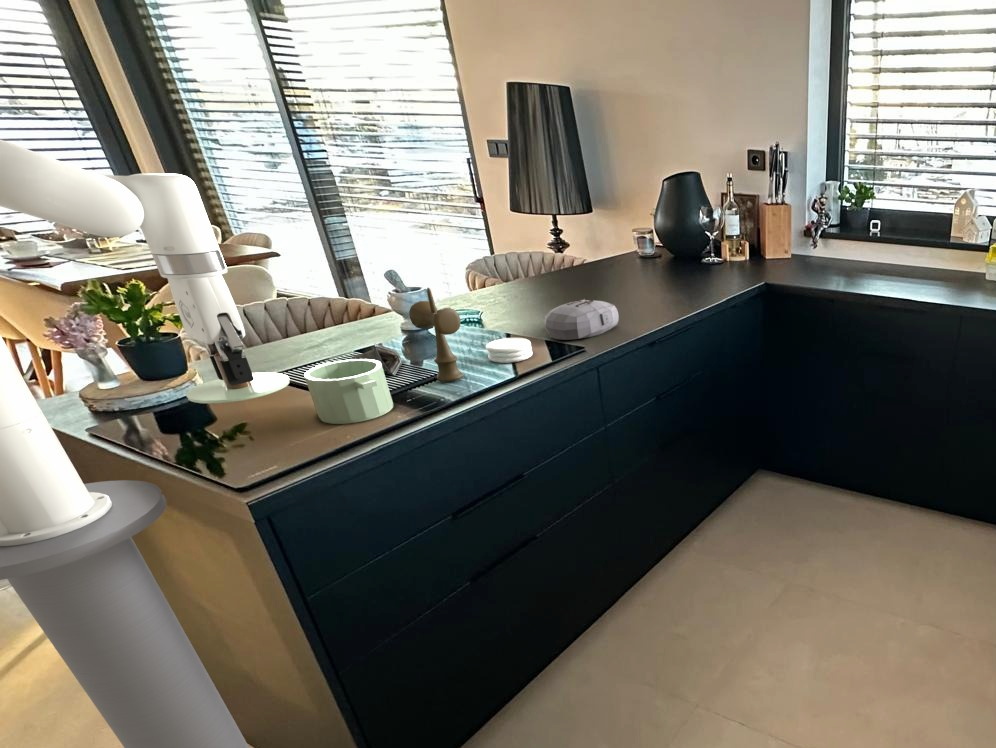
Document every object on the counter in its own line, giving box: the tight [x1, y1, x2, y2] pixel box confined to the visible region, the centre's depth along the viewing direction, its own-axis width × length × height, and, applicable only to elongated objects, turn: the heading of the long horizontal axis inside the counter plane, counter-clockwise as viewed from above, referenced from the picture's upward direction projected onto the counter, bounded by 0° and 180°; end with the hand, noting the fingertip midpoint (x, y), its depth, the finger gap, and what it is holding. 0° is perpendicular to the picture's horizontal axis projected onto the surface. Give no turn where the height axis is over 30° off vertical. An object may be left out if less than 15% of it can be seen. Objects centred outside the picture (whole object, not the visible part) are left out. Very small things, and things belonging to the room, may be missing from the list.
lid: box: [185, 352, 291, 404], centre depth 100 cm, size 13×13×7 cm
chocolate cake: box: [351, 342, 403, 376], centre depth 139 cm, size 10×7×12 cm
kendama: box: [408, 287, 464, 383], centre depth 132 cm, size 6×10×20 cm, turn 58°
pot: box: [304, 359, 394, 425], centre depth 118 cm, size 12×17×8 cm
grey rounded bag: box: [543, 298, 620, 341], centre depth 168 cm, size 15×8×20 cm
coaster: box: [485, 337, 533, 364], centre depth 150 cm, size 10×10×4 cm
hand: (236, 379), depth 101 cm, fingers closed on lid, 3 cm apart
